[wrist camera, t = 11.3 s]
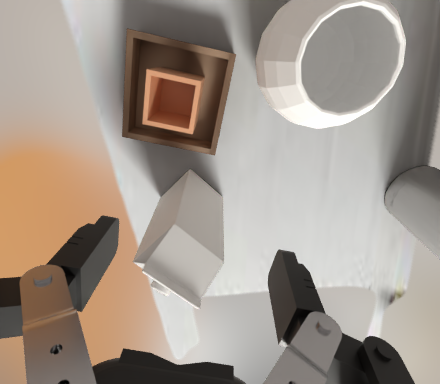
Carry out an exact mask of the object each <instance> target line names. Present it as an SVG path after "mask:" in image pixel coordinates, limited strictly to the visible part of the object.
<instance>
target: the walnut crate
mask: <svg viewBox="0 0 440 384" xmlns="http://www.w3.org/2000/svg"><path fill="white" fill-rule="evenodd" d="M235 57H236V54H232V53H228V52H224V51H220V50H216V49H211V48H207V47H203V46H199V45H195V44H190V43H186V42H182V41H178V40H173V39H169V38H165V37H161V36H157V35H152V34H148V33H144V32H140V31H135V30H131V29H127V37H126V60H125V83H124V106H123V129H122V137H126V138H131V139H136V140H141V141H146V142H151V143H156V144H161V145H166V146H171V147H176V148H181V149H186V150H191V151H196V152H201V153H206V154H211V155H215V152H216V148H217V143H218V138H219V133H220V129H221V124H222V119H223V114H224V110H225V105H226V100H227V95H228V91H229V86H230V81H231V76H232V72H233V67H234V62H235ZM156 67H164V68H169V69H173V70H177V71H182V72H186V73H191V74H195V75H199V76H204V77H205V80H204V86H203V92H202V98H201V104H200V110H199V116H198V121H197V124H196V127H195V129H194V132H193V134H188V133H184V132H179V131H174V130H169V129H164V128H159V127H155V126H150V125H145V124H142V122H143V109H144V96H145V83H146V70H147V69H150V68H156Z"/></svg>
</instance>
